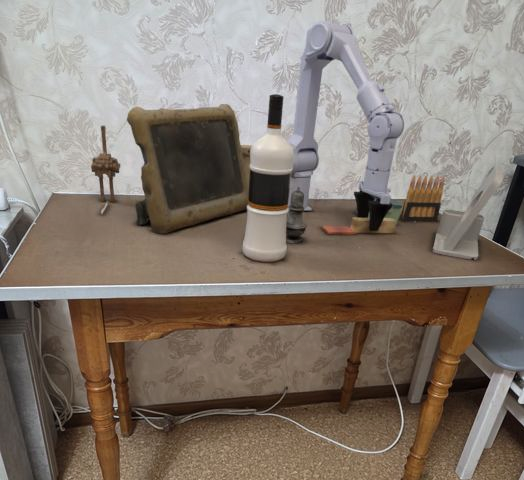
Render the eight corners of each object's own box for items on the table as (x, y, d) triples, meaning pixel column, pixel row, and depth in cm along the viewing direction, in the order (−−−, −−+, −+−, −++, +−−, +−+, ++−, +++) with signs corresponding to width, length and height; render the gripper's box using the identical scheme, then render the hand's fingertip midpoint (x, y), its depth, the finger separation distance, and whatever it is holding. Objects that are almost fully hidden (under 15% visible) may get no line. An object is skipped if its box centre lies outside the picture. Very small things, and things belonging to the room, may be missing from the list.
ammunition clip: (402, 221, 132) (413, 175, 126) (399, 219, 134) (409, 174, 128) (437, 221, 135) (448, 176, 129) (433, 219, 136) (445, 175, 130)
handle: (231, 201, 137) (233, 144, 129) (252, 201, 139) (256, 145, 131) (234, 205, 133) (237, 147, 125) (257, 205, 135) (261, 148, 127)
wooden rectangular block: (328, 234, 117) (330, 221, 115) (321, 228, 121) (323, 215, 119) (396, 234, 121) (398, 222, 119) (387, 228, 125) (390, 216, 123)
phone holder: (436, 232, 125) (455, 159, 116) (477, 239, 122) (500, 165, 113) (432, 252, 111) (453, 170, 102) (478, 260, 108) (504, 177, 99)
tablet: (173, 238, 106) (170, 112, 93) (127, 225, 112) (118, 104, 99) (253, 210, 130) (259, 107, 118) (211, 200, 136) (213, 101, 123)
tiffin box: (370, 225, 127) (375, 201, 123) (353, 212, 137) (357, 189, 134) (398, 225, 128) (403, 201, 125) (379, 212, 138) (384, 190, 135)
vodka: (233, 251, 102) (240, 91, 86) (268, 245, 107) (281, 92, 91) (258, 266, 96) (271, 96, 80) (294, 259, 101) (313, 97, 85)
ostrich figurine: (97, 197, 130) (90, 124, 121) (123, 198, 132) (117, 126, 122) (86, 214, 116) (77, 133, 107) (115, 215, 117) (108, 135, 108)
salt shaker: (298, 245, 108) (304, 191, 102) (275, 239, 111) (280, 186, 104) (309, 239, 112) (316, 186, 106) (287, 234, 115) (293, 182, 109)
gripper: (407, 176, 108) (394, 235, 115) (381, 163, 120) (370, 217, 127) (378, 175, 107) (367, 235, 114) (354, 162, 119) (345, 217, 126)
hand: (367, 225), depth 121 cm, fingers open, 7 cm apart
